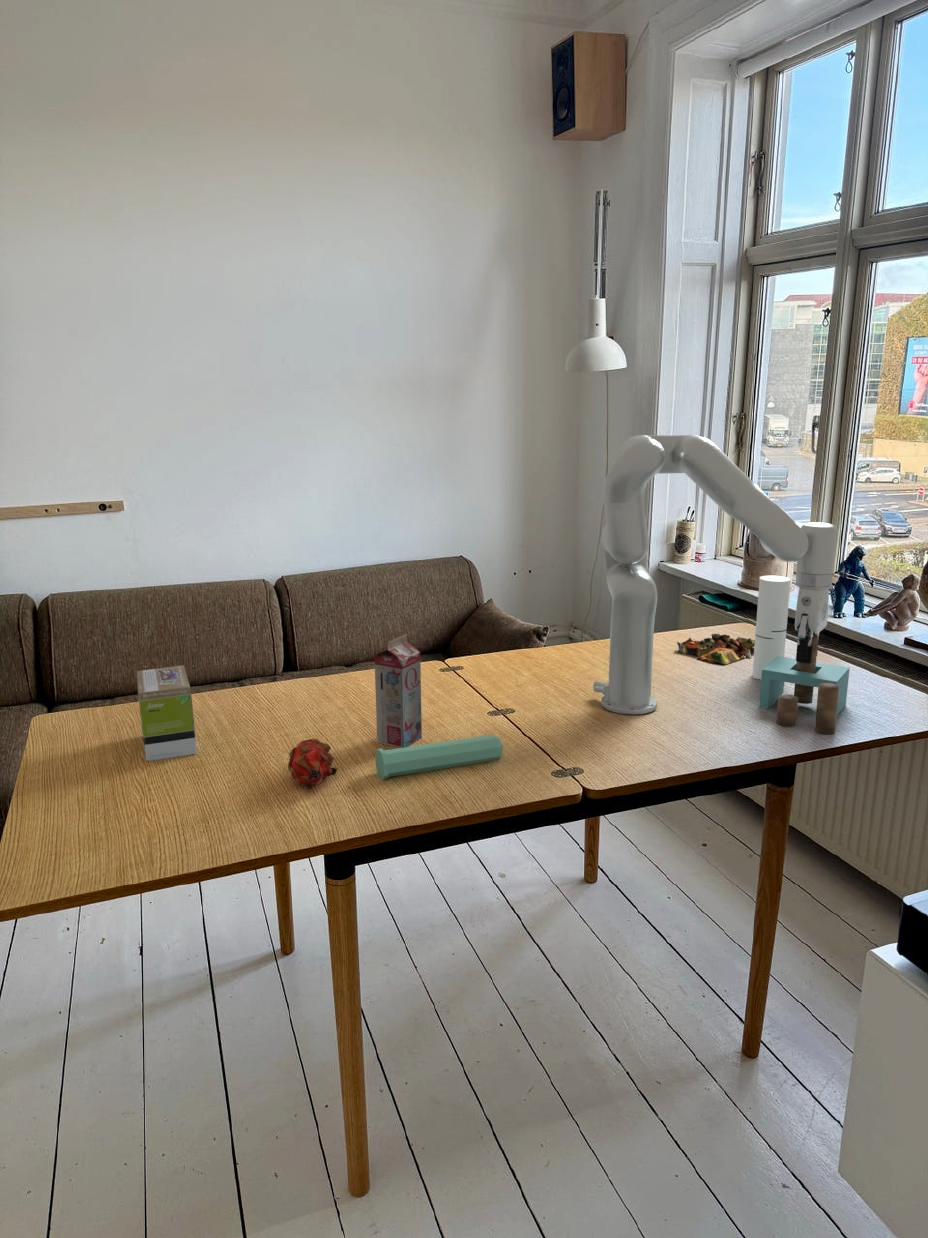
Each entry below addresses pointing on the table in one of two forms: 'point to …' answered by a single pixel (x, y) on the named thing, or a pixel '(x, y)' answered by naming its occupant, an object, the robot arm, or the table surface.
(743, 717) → the table surface
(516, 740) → the table surface
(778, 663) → the teal bridge
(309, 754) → the dragon fruit
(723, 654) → the food
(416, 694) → the juice carton
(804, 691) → the tall pin
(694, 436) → the robot arm
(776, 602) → the cylindrical container
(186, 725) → the tea box
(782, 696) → the short pin
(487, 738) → the container
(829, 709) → the medium pin
